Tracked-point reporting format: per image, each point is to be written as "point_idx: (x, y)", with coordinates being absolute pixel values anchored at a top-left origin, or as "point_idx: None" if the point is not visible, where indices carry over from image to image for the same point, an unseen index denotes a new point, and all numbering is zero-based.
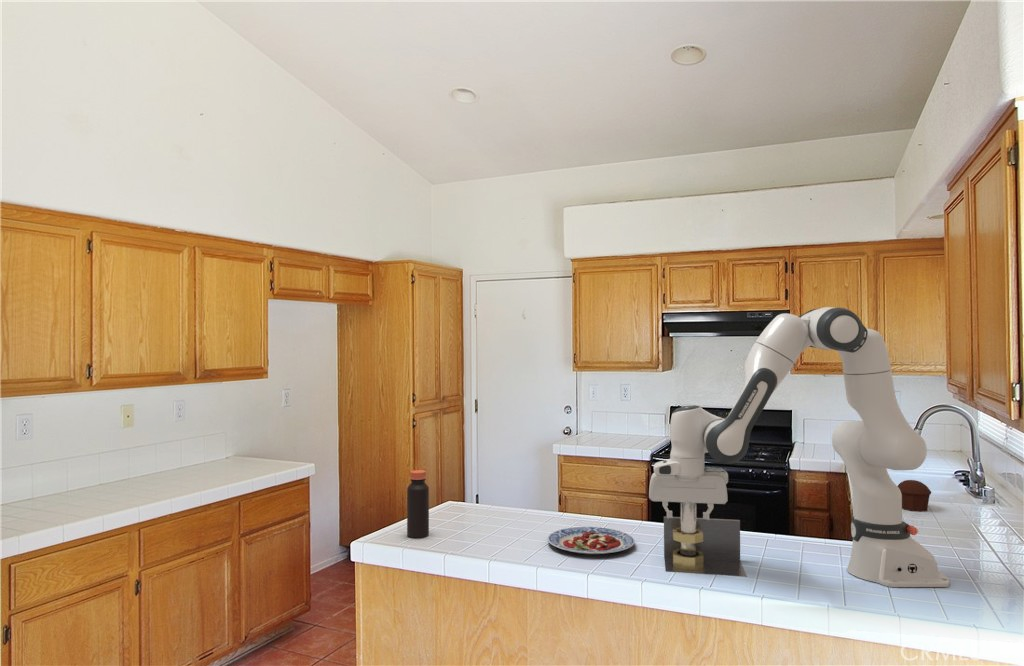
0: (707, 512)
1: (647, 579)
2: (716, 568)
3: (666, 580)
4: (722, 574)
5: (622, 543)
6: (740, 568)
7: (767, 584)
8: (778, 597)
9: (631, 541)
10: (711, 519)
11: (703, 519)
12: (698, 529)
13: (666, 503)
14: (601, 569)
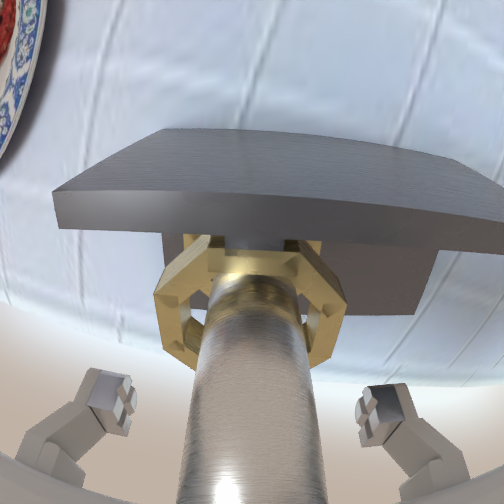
0: (389, 451)
1: (127, 320)
2: (352, 262)
3: None
4: (352, 311)
5: (17, 19)
6: (429, 253)
7: (444, 314)
8: (420, 370)
9: (34, 18)
10: (465, 244)
11: (357, 404)
12: (330, 288)
13: (73, 482)
14: (13, 261)
